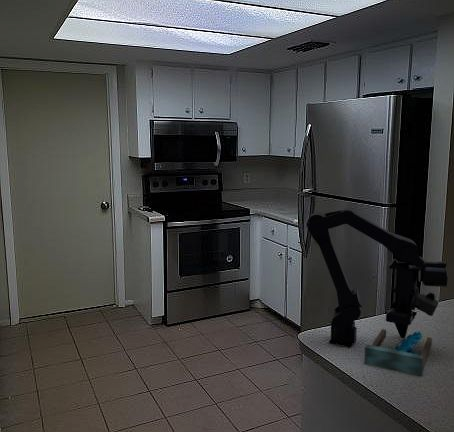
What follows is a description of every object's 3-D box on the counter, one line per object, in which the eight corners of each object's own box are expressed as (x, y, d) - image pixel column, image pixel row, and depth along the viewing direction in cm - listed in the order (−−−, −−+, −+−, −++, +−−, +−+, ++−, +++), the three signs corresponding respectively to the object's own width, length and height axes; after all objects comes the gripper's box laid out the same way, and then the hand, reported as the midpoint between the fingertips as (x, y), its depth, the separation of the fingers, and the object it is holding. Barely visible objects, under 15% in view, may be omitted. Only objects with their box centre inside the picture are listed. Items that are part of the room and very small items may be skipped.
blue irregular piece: (394, 341, 131) (421, 324, 125) (409, 358, 129) (437, 341, 124) (384, 361, 122) (413, 343, 116) (400, 379, 121) (430, 362, 115)
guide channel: (364, 363, 121) (364, 347, 120) (381, 335, 139) (382, 321, 139) (421, 375, 114) (422, 358, 113) (431, 344, 132) (432, 329, 132)
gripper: (432, 297, 116) (429, 356, 118) (440, 280, 132) (437, 332, 134) (386, 291, 121) (384, 347, 124) (400, 275, 137) (397, 325, 139)
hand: (402, 337), depth 130 cm, fingers closed
